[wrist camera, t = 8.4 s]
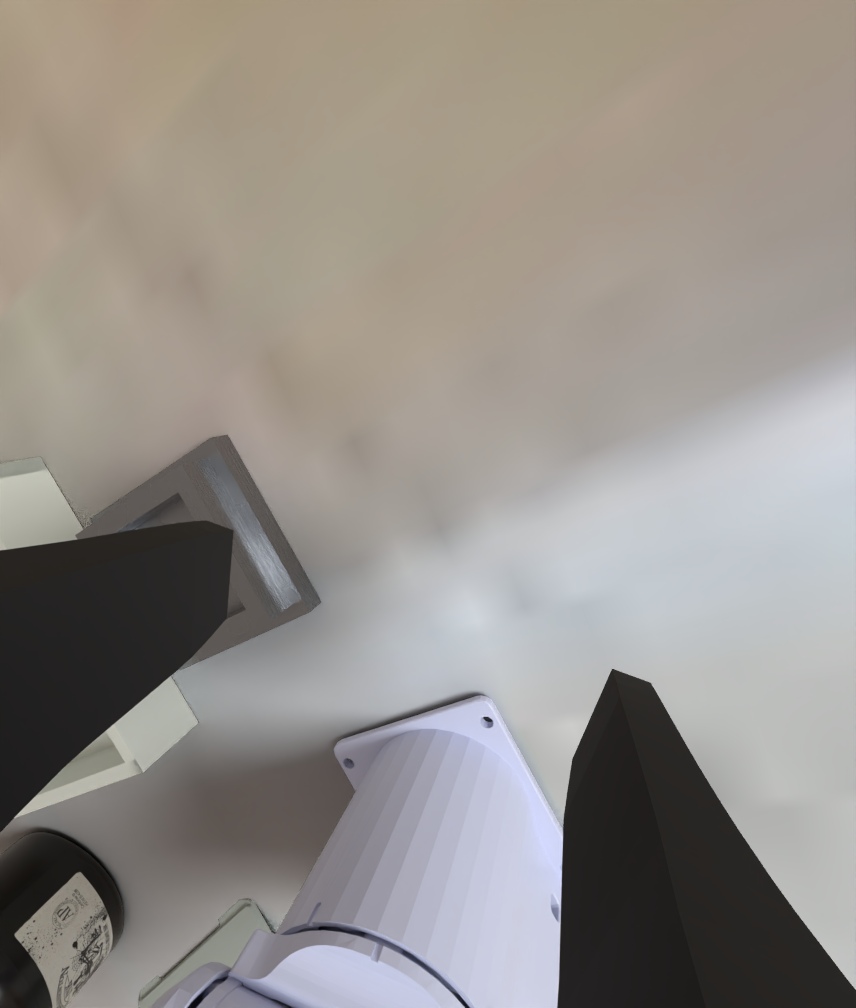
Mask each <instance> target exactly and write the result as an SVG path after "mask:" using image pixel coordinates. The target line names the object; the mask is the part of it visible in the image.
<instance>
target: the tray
mask: <svg viewBox="0 0 856 1008" xmlns="http://www.w3.org/2000/svg"><path fill="white" fill-rule="evenodd" d="M82 530H84V529H83V528H82V526H81V524H80V523H79V521H78V519H77V518H76V516H75V514H74V513H73V511H72V509H71V508H70V506H69V504H68V503H67V501H66V499H65V498H64V496H63V494H62V493H61V491H60V489H59V488H58V486H57V484H56V482H55V481H54V479H53V477H52V476H51V474H50V472H49V471H48V469H47V467H46V466H45V464H44V462H43V461H42V459H41V457H36V458H30V459H23V460H17V461H11V462H5V463H0V550H7V549H14V548H21V547H28V546H35V545H42V544H49V543H56V542H63V541H70V540H77V538H76V536H75V535H76V534H78V533H79V532H81V531H82ZM197 724H198V721H197V719H196V717H195V716H194V714H193V712H192V711H191V709H190V707H189V706H188V704H187V702H186V701H185V699H184V697H183V696H182V694H181V692H180V691H179V689H178V687H177V686H176V684H175V682H174V681H173V679H172V677H171V676H170V677H169V678H168V679H166V680H165V681H164V682H163V683H162V684H161V685H160V686H158V687H157V688H156V689H155V690H154V691H152V692H151V693H150V694H149V695H148V696H147V697H145V698H144V699H143V700H142V701H141V702H139V703H138V704H137V705H136V706H135V707H133V708H132V709H131V710H130V711H129V712H128V713H126V714H125V715H124V716H123V717H122V718H120V719H119V720H118V721H117V722H116V723H115V724H113V725H112V726H111V727H110V728H109V729H107V730H106V731H105V732H104V733H103V734H101V735H100V736H99V737H98V738H97V739H96V740H94V741H93V742H92V743H91V744H90V745H88V746H87V747H86V748H85V749H84V750H83V751H82V752H81V753H80V754H78V755H77V756H76V757H75V758H74V759H73V760H72V761H71V762H70V763H69V764H67V765H66V766H65V767H64V768H63V769H62V770H61V771H60V772H59V773H58V774H57V775H56V776H55V777H54V778H53V779H52V780H51V781H50V782H49V783H48V784H47V785H46V786H45V787H44V788H43V789H42V790H41V791H40V792H39V793H38V794H37V795H36V796H35V797H34V798H33V799H32V800H31V801H30V802H29V803H28V804H27V805H26V806H25V807H24V808H23V809H22V810H21V811H20V812H19V813H18V814H17V815H16V816H15V817H14V818H16V817H19V816H22V815H25V814H27V813H30V812H33V811H36V810H39V809H41V808H44V807H47V806H50V805H53V804H56V803H58V802H61V801H64V800H67V799H70V798H72V797H75V796H78V795H81V794H84V793H87V792H89V791H92V790H95V789H98V788H101V787H103V786H106V785H109V784H112V783H115V782H118V781H120V780H123V779H126V778H129V777H132V776H135V775H137V774H140V773H143V772H144V771H145V770H147V769H148V768H149V767H150V766H151V765H152V764H153V763H154V762H155V761H157V760H158V759H159V758H160V757H161V756H162V755H163V754H164V753H166V752H167V751H168V750H169V749H170V748H171V747H172V746H173V745H174V744H176V743H177V742H178V741H179V740H180V739H181V738H182V737H183V736H184V735H186V734H187V733H188V732H189V731H190V730H191V729H192V728H193V727H194V726H196V725H197Z"/></svg>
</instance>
